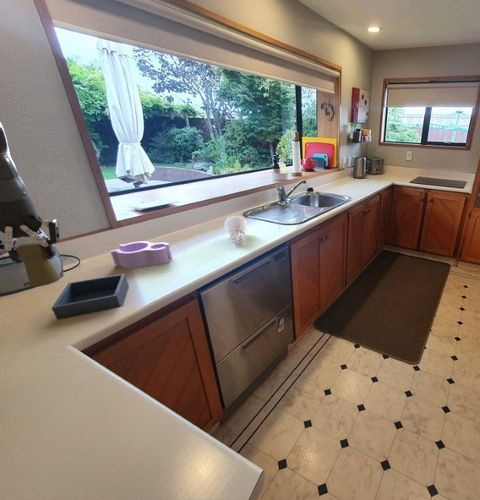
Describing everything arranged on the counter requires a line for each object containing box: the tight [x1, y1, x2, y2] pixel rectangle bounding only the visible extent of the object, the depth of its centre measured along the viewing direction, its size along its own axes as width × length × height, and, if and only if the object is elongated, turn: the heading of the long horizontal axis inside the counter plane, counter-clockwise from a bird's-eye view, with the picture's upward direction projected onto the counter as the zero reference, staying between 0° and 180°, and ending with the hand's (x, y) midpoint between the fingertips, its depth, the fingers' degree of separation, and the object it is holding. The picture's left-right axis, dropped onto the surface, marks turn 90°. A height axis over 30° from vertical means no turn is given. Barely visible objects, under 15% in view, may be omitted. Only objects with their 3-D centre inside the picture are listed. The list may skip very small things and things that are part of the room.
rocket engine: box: [224, 215, 248, 247], centre depth 146 cm, size 12×12×18 cm
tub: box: [51, 273, 130, 321], centre depth 94 cm, size 16×16×6 cm
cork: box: [16, 241, 62, 288], centre depth 74 cm, size 6×6×11 cm
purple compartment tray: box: [110, 240, 173, 269], centre depth 122 cm, size 20×12×7 cm, turn 101°
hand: (35, 259), depth 74 cm, fingers closed on cork, 5 cm apart
